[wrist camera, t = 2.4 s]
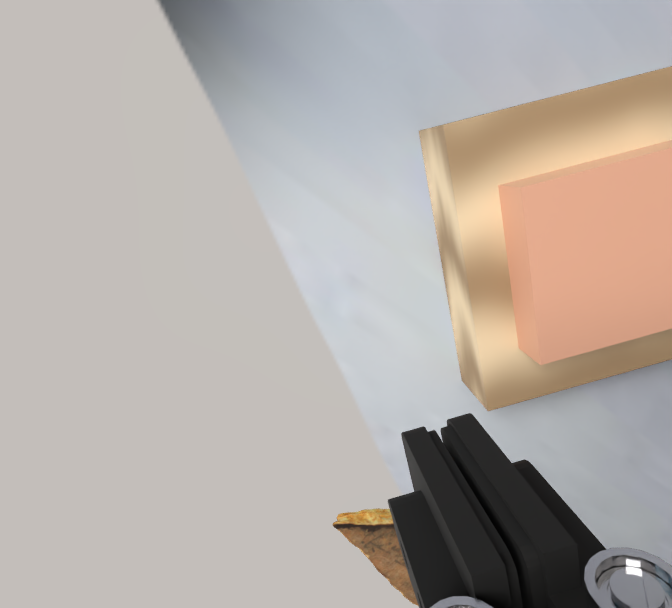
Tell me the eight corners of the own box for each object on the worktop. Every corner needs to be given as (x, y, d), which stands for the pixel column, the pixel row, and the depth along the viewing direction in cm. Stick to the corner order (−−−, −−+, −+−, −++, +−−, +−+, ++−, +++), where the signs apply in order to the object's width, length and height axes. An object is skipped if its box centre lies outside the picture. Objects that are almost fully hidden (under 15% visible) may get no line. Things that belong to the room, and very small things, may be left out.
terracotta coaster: (498, 185, 20) (521, 187, 18) (669, 140, 20) (709, 137, 18) (518, 348, 23) (540, 365, 21) (670, 306, 23) (706, 318, 21)
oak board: (418, 130, 22) (443, 124, 19) (723, 53, 23) (799, 33, 20) (462, 380, 27) (488, 411, 23) (717, 309, 27) (778, 328, 24)
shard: (329, 507, 29) (332, 529, 27) (427, 437, 28) (437, 455, 26) (423, 602, 32) (430, 627, 30) (513, 541, 31) (526, 563, 30)
